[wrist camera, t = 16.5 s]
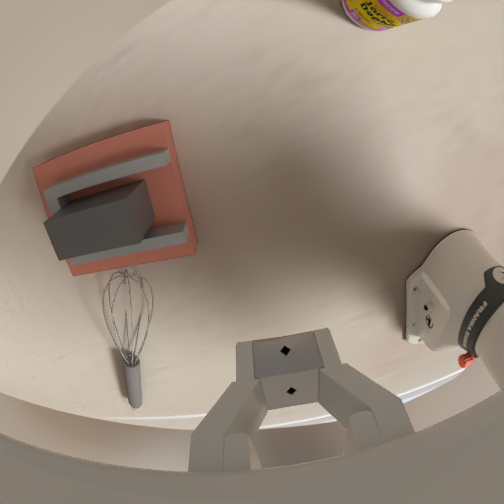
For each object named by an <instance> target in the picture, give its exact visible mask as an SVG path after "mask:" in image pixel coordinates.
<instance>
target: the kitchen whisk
mask: <svg viewBox="0 0 504 504" xmlns="http://www.w3.org/2000/svg"><path fill="white" fill-rule="evenodd" d="M126 272H127V269H126V270H125V273H122V272H119V271H118V272H116V273H122V274H124V275H125V279H124V280H123V281H122V282H121V283H120V285H121V284H122V283H123V282H124V281H126V278H127V277H128V284H129V293H130V305H131V325H132V354H130V347H129V354H128V355H126V353H125V351H124V353H125V355H126V356H124V355H123V353H122V351H121V348H120V346H119V344H118V341H117V338H116V334H115V329H114V325H115V322H113V321H114V318H113V305H114V301H115V297H116V293H117V291H118V289H119V287H120V285H119V287H118V289H117V291H116V293H115V296H114V300H113V304H112V309H111V313H112V323H113V329H114V334H115V338H116V341H117V344H118V346H119V348H120V350H119V348H118V346H117V344H116V343H115V341H114V339H113V336H112V334H111V332H110V329H109V327H108V324H107V321H106V317H105V313H104V304H103V300H104V292H105V290H106V288H107V286H108V284H109V288H110V282H111V281H112V280H114V279H115V278H116V277H120V276H124V275H119V276H116V277H114V278H113V279H112V280H111V278H112V276H113V275H114V274H116V273H114V274H112V276H111V278H110V280H111V281H110V280H109V282H108V283H107V285H106V287H105V290H104V292H103V300H102V304H103V313H104V317H105V321H106V324H107V327H108V329H109V332H110V334H111V336H112V339H113V341H114V343H115V344H116V346H117V348H118V350H119V351H120V353H121V354H122V356H123V357H124V358H123V367H124V374H125V381H126V388H127V394H128V400H129V404H130V405H131V406H132V407H133V408H135V409H136V408H139V407H141V404H142V392H141V378H140V361H139V358H138V357H139V356H140V353H141V351H142V349H143V346H144V343H145V341H146V337H147V333H148V329H149V325H150V321H151V317H152V311H153V299H154V298H153V291H152V287H151V286H150V284H149V282H148V280H146V279H145V278H143V277H142V276H141V275H140V274H139V273H137V272H133V273H132V274H128V272H127V274H126ZM134 273H136V274H139V275H136V274H134ZM126 275H127V277H126ZM130 275H134V276H140V278H141V277H142V278H143V279H145V280H146V281H147V282H148V284H149V286H150V288H151V292H152V298H153V299H152V311H151V317H150V321H149V316H150V311H149V304H148V300H147V297H146V294H145V291H144V290H143V284H142V287H141V285H140V284H139V283H138V281H136V280H135V279H134V278H132V277H131V276H130ZM129 277H131V278H132V279H133V280H135V281H136V282H137V283H138V284H139V286H140V287H141V289H142V290H143V292H144V294H145V297H146V300H147V304H148V312H149V314H148V327H147V332H146V335H145V338H144V341H143V343H142V346H141V348H142V349H141V348H140V350H141V351H139V353H138V355H139V356H138V355H137V356H136V355H135V351H134V355H133V322H132V303H131V292H130V283H129ZM142 278H141V283H142ZM109 288H108V292H109ZM109 303H110V293H109ZM110 308H111V303H110ZM140 318H141V314H140ZM139 325H140V319H139ZM126 326H127V314H126ZM115 328H116V325H115ZM116 331H117V328H116ZM138 332H139V326H138ZM117 334H118V332H117ZM118 337H119V335H118ZM127 337H128V327H127ZM137 338H138V333H137ZM119 340H120V337H119ZM120 343H121V340H120ZM136 344H137V339H136ZM121 345H122V343H121ZM128 346H129V338H128ZM122 348H123V346H122ZM123 350H124V348H123ZM135 350H136V345H135ZM133 408H132V409H133ZM135 409H133V410H135Z"/></svg>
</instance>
